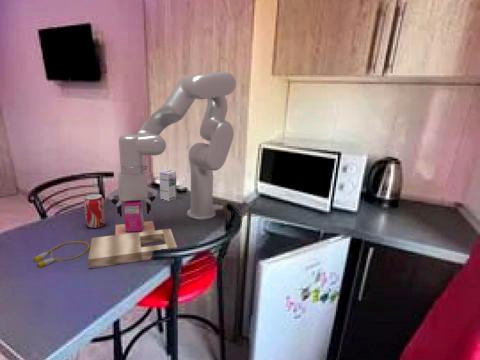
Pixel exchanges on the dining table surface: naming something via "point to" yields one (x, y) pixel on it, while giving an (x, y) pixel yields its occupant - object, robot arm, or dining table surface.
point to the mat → (122, 230)
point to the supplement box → (133, 216)
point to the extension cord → (49, 261)
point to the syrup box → (168, 185)
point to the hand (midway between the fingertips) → (134, 213)
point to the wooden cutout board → (127, 247)
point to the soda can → (94, 210)
